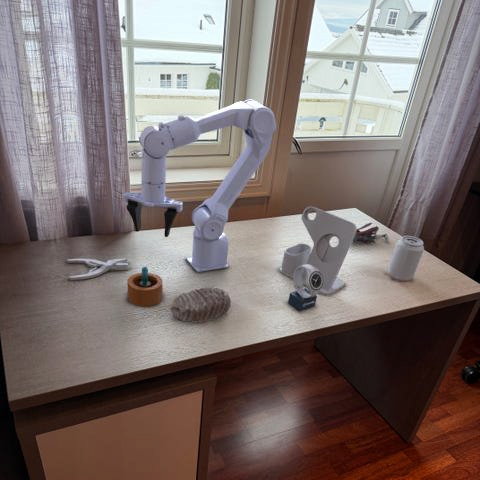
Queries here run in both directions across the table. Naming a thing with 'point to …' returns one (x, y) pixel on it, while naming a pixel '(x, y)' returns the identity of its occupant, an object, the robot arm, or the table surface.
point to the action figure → (368, 234)
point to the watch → (305, 297)
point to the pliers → (109, 265)
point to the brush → (145, 278)
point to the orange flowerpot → (145, 290)
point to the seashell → (201, 304)
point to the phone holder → (321, 249)
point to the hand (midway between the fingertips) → (152, 232)
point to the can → (406, 258)
